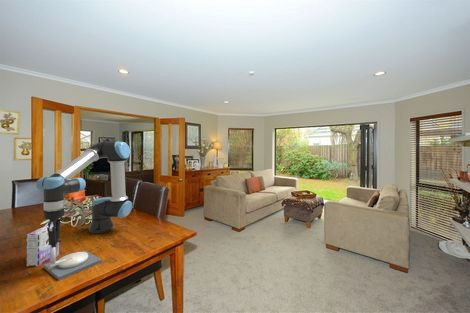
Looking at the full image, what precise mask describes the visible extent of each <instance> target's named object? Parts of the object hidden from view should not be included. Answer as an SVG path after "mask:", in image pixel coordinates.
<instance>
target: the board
mask: <svg viewBox="0 0 470 313" xmlns="http://www.w3.org/2000/svg"><path fill="white" fill-rule="evenodd" d="M80 252H86V253H88V260H87V261H86V262H85V263H83V264H81V265H79V266H76V267H72V268H59V267H58V265H56V266H53V267H50V262H48V263H47V262H46V263H45V264H43V268H44V269H45V271H46V272H48V273H49V274H51V275H52V276H53V277H54V278H55V279H56V280H58V281H61V280H63V279H66V278H68V277H70V276H73V275H75V274H78V273H80V272H83V271H84V270H86V269H87V270H88V269H89V268H91V267H94V266H96V265H98V264H101V263H102V261H103V259H102V258H100V257H99V256H96V255H95V254H93V253H91V252H89V251H88V250H85V249H84V250H82V251H80ZM58 260H59V259H56V261H58Z"/></svg>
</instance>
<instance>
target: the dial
mask: <svg viewBox="0 0 470 313" xmlns="http://www.w3.org/2000/svg"><path fill="white" fill-rule="evenodd" d="M56 257H57V256H56V247H52V248H50V259H49V263H50V267H53V266H56V265H58V267H59V268H72V267H76V266H79V265H81V264H83V263H85V262H86V261H87V260H88V253H86V252H81V251H77V252H73V253H69V254H66V255H64V256H62V257H60V258H59V259H57V258H56ZM56 260H58V261H56Z"/></svg>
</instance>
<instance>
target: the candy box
mask: <svg viewBox="0 0 470 313" xmlns="http://www.w3.org/2000/svg"><path fill="white" fill-rule="evenodd" d="M47 228H49V226H48V224H46V225H45V226H42V227H41V228H38V229H36V230H34V231H32V232H29V233H26V251H25V252H26V256H25V257H26V259H25V260H26V267H39V266H41V265H42V264H43V263H46V262H47V261H48V260H50V248H51V245H48V244H49V238H48V231H47ZM59 253H60V242H58V254H59Z"/></svg>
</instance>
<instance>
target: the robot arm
mask: <svg viewBox="0 0 470 313" xmlns="http://www.w3.org/2000/svg"><path fill="white" fill-rule="evenodd" d="M130 155H131V149H130V146H129V145H128V144H127V142H124V141H108V140H107V141H106V140H105V141H104V140H103V141H100V142H97V143H94V144H92V145H90V146H89V147H87V148H86V149H84V151H83V153H81V154H80V155H78V156H77V157H76V158H75V159H73V160H72V161H70V162H69V163H67V164H65V165H64V166H63V167H61V168H60V169H59V170H56V172H54V173H53V174H51V175H50V176H45V177H41V178H39V179H38V180H37V181H36V185H35V186H36V189H37V190H39V191H41V192H43V210H44V211H43V219H45V220H48V222H47V225H48V226H49V228H47V231H48V238H49V244H48V245H51V248H52V247H56V257H59V253H58V242H59V243H60V242H61V239H60V233H61V221H62V219H60V218H62V217H64V216H65V204H66V203H67V202H66V201H65V195H69V194H74V193H78V192H81V191H83V190H84V189H86V186H87V185H86V184H87V183H86V180H85V179H84V178H82V177H75V176H76V175H78V174H79V173H81V171H83V170H84V169H86V168H87V167H88V166H89V165H90V164H92V163H94V162H97V161H98V160H100V159H107V162H108V163H109V164H110V166H109V167H110V180H111V181H110V182H111V183H110V185H111V186H110V187H111V196H107V197H106V196H105V197H100V198H96V199H95V198H94V200H92V202H91V221H90V224H89V228H88V233H90V234H92V235H97V234H105V233H108V232H111V231H112V230H114V228H115V227H114V222H113V220H112V218H125V217H127V216H128V215H129V214H130V213H131V211H132V209H133V202H132V201H130V200H129V196H127V195H126V194H127V193H126V174H125V172H126V169H125V163H126V162H127V161H128V159H129V157H130Z"/></svg>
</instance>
